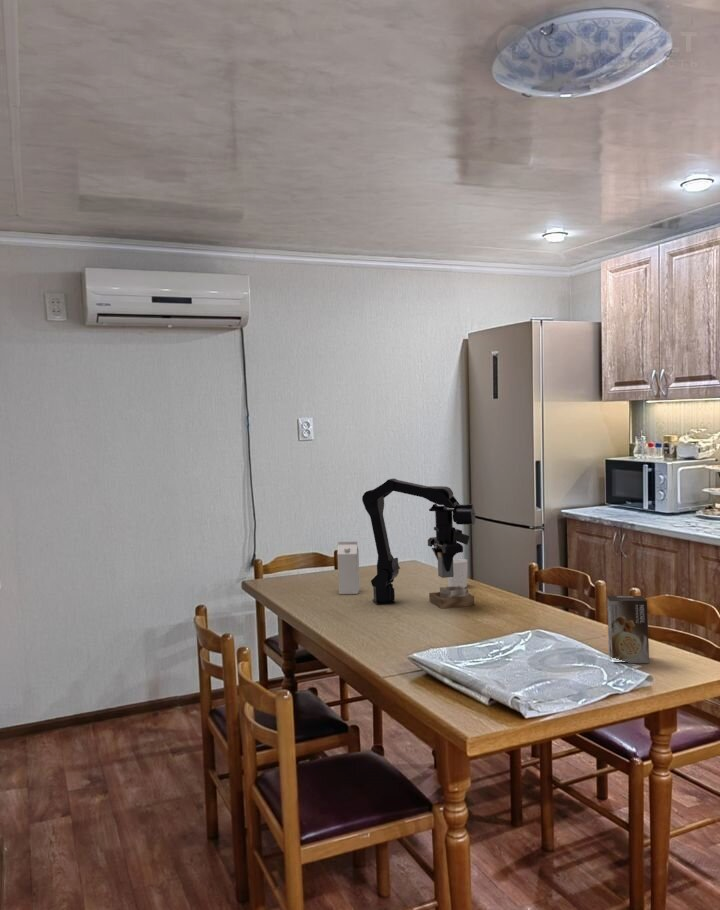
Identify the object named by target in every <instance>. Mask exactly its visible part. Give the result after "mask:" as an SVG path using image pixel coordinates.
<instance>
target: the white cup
mask: <svg viewBox="0 0 720 910" xmlns="http://www.w3.org/2000/svg"><path fill="white" fill-rule="evenodd" d="M453 572H454V577H447V581H448V582H447V583H448V585H447V586H459V585H460V586H462V587H464V588H466V589H467V586H468V582H467V580H468V559H465V558H453Z"/></svg>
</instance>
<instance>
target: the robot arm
mask: <svg viewBox="0 0 720 910" xmlns="http://www.w3.org/2000/svg"><path fill="white" fill-rule="evenodd" d="M392 492H397V493H402V494H406V495H411V496H415V497H419V498H423V499H426V500H428V501H429V502H431V503H433V504H432V506H431V507H430V508H429V509H428V511H429V512H434V515H435V516H434V517H435V526H433V531H435V536H434V537H433V536H432V537H429V538H428V540H427V547H431V550H432V552H433V554H434V556H435V558H436V560H437V561H438V552H440V555H441V558H442V561H443V564H444V567H445V569H446V571H447V572H448V571H450V568H451V564H452V560H453V559H454V557H455V556H456V555H457V554H459V553H463V552H464V546H463V545H466V546H468V544H469V541H470V538H471V535H467V534H466V533H463V531H462V530H461V529H459V528H458V529H457V528H456V527H454V526H453V525H454V524H453V522H454V523H455V524H456V525H463V526H464V525H465V526H467V525H470V526H471V525H472V526H473V525H475V523H476V512H475V508H474V504H473V503H469V504H461V503H460V502H459V501H458V499H457V498H456V497H455V496H454V492H453V490H452V489H451V488H450V487H449V486H441V485H440V486H438V485H435V486H432V485H431V486H429V485H428V486H427V485H423V484H418V483H413V482H410V481H409V482H408V481H405V480H399V479H396V478H388V479H387V480H386V481H384V483H383V482H382V483H381V484H380V485H379V486H377V487H376V488H373V489H370V490H368V491H365V492H364V493H363V495H362V497H361V498H362V499H361V500H362V503H363V506H364V509H365V510H366V511H365V512H367V514H368V516H369V518H370V522H371V528H372V533H373V538H374V543H375V547H376V553H377V562H376V575H375V576H374V577H373V578H372V579H371V580H370V583H371V586H372V587H373V588H372V591H373V599H371V601H372V602H374V603H375V604H376V605H385V604H395V603H396V601H395V600H396V599H395V598H396V597H395V588H394V586H393V582H394V581H395V578H396V577H398V575H399V572H400V569H401V567H400V565H399V559H398V557H394V556H393V555H392V552H391V548H390V542H389V538H388V533H387V528H386V523H385V519H384V518H385V517H384V508H385V498H386V497H388V496H389V495H390V494H391V493H392ZM432 546H433V547H432Z"/></svg>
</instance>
